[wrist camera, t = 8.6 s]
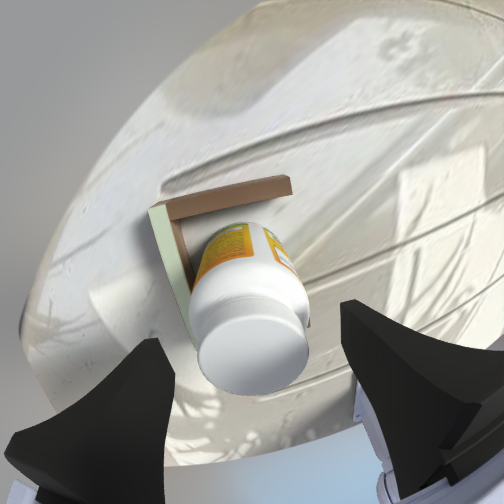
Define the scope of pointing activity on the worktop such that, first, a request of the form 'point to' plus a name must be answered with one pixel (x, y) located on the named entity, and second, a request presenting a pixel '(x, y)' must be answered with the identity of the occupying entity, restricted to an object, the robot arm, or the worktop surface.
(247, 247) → the supplement bottle
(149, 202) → the worktop surface
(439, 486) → the robot arm
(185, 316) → the dock
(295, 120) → the worktop surface
